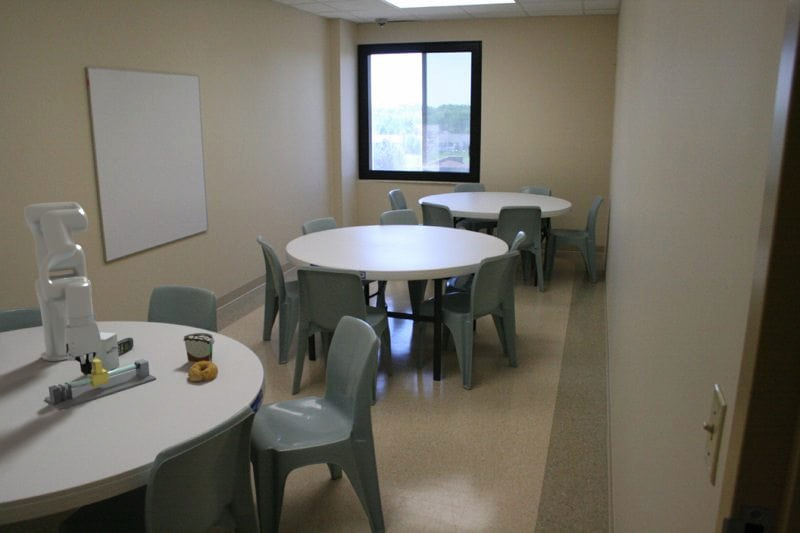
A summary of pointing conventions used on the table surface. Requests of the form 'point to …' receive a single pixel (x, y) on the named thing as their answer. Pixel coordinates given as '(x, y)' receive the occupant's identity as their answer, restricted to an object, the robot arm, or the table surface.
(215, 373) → the bagel
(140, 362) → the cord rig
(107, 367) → the supplement box
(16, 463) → the table surface
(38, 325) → the table surface
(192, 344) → the food container
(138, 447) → the table surface
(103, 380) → the sleeve
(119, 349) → the mobile phone
